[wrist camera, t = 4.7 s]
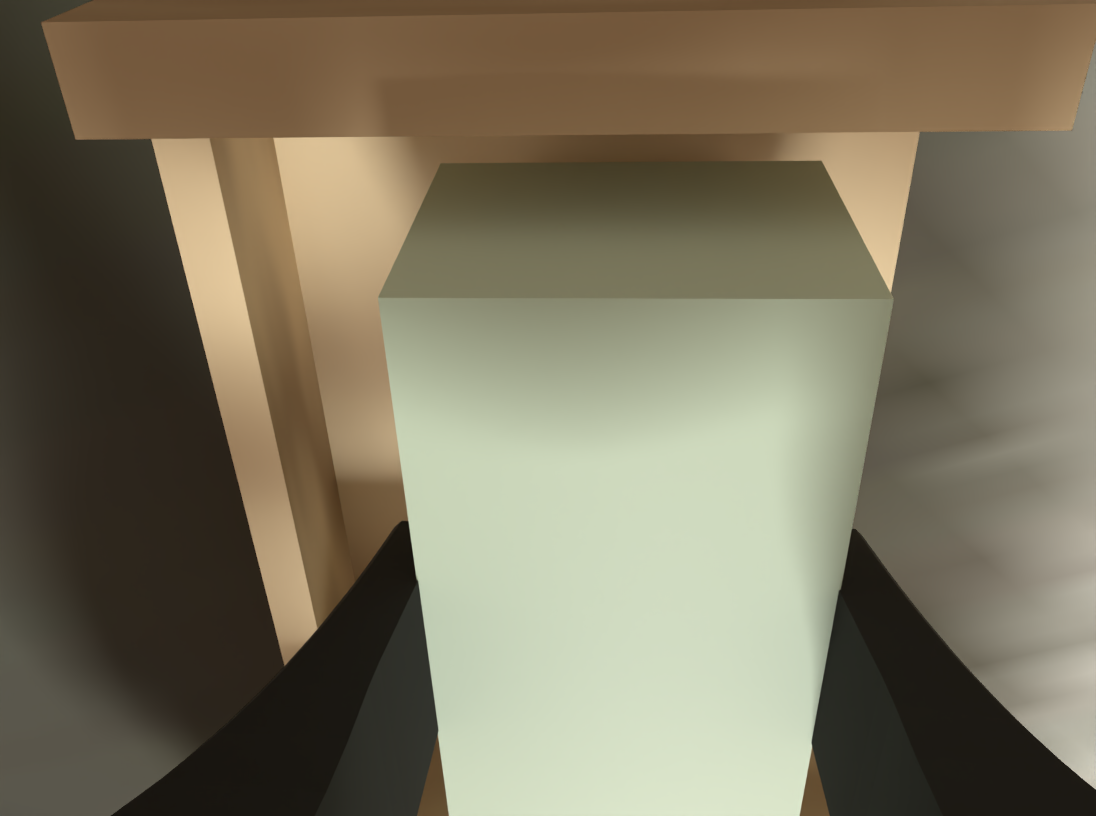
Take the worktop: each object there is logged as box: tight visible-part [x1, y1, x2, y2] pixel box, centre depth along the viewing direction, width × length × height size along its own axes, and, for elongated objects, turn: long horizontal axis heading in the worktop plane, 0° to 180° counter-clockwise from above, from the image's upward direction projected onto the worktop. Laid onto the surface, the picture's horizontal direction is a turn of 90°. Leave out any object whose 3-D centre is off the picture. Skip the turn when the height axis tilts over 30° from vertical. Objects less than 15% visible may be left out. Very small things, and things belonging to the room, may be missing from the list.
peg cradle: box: [41, 0, 1096, 816], centre depth 16 cm, size 15×11×6 cm
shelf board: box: [378, 161, 894, 816], centre depth 14 cm, size 10×5×4 cm, turn 2°
